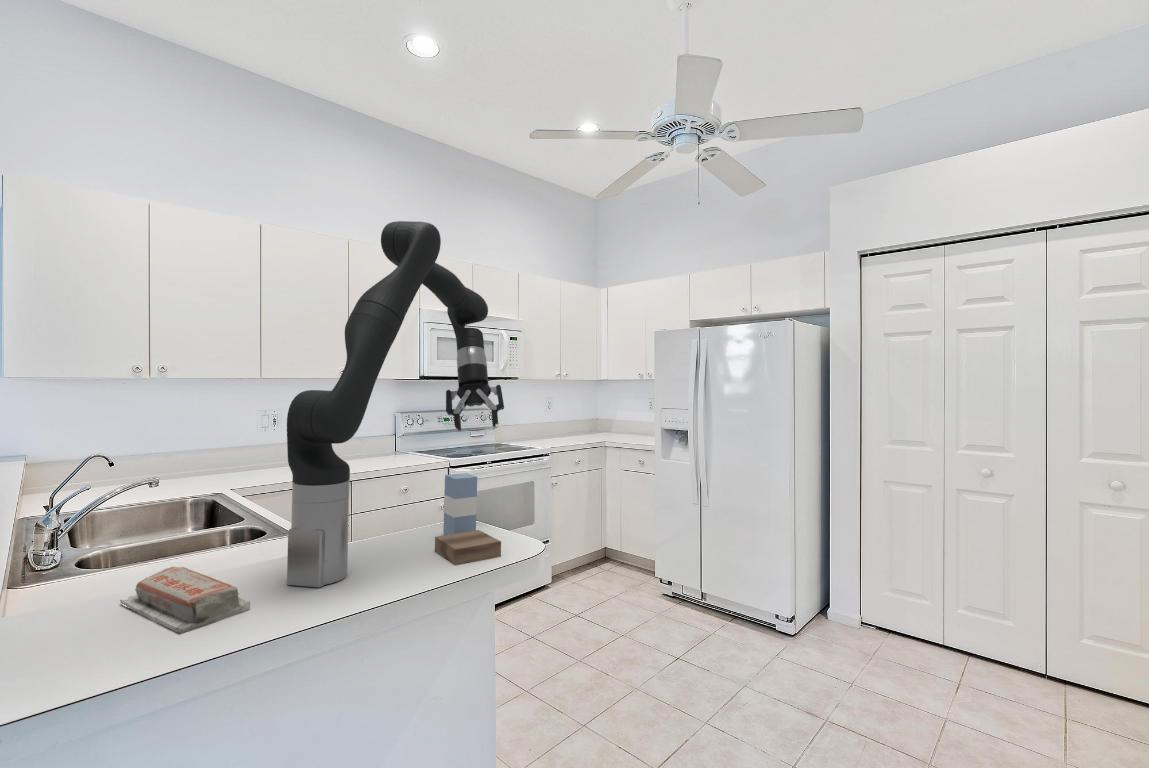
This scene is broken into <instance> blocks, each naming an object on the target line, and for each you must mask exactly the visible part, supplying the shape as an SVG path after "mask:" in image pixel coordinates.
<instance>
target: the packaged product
mask: <svg viewBox="0 0 1149 768" xmlns="http://www.w3.org/2000/svg"><path fill="white" fill-rule="evenodd" d="M134 591H135V592H136V594H135V595H131V596H128V598H127V599H120V600H119V601H120V604H121V603H122V604H124V605H126V606H127V607H129V608H130V610H131V611H134V612H135V611H137V612H138V613H137V612H136V613H137V614H139V613H140V614H139V615H141V614H142V615H144V616H146V617H147V618H146V617H145V618H146V619H148V618H149V619H148V620H150V621H151V620H152V621H151V622H153V621H154V623H155V622H156V624H158V623H159V624H158V625H161V624H162V626H163V627H165V628H168V629H169V630H172V631H173V632H176V633H178V634H180V635H181V634H185V633H188V632H190V631H194V630H196V629H199V628H202V627H206V626H208V625H210V624H213V623H216V622H219V621H222V620H225V619H227V618H231V617H233V616H236V615H239V614H241V613H245V612H248V611H250V609H251V607H250V606H251V601H249V600H248V601H247V600H246V599H245V598H242V597H239V592H238V588H237V586H234V585H231V584H230V583H228V582H227V583H226V582H223V581H221V580H218V579H215V578H213V577H211V576H207V575H205V574H203V573H200V572H197V571H194V570H192V569H189V568H187V567H183V566H171V567H166V568H164V569H162V570H161V571H158V572H157V573H154V574H152V575H151V576H150V575H149V576H148V577H145V578H143V579H142V580H140V581H139V582H138V583H137V584H136V585H135V590H134ZM129 608H128V609H129ZM142 615H141V616H142ZM144 616H143V617H144Z"/></svg>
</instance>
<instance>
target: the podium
mask: <svg viewBox="0 0 1149 768" xmlns="http://www.w3.org/2000/svg"><path fill="white" fill-rule="evenodd" d="M434 552H435V553H437V554H438V555H440V556H441V557H443V558H444V559H446V560H447V561H449V562H450V563H452V564H453V565H455V566H457V565H456V564H458V565H462V564H461V563H463V564H467V562H468V563H472V561H473V562H478V561H483V560H489V559H493V558H492V557H494V558H497V557H496V556H499V557H501V556H502V555H501V554H502V541H501V540H499V539H497V538H495V537H494V536H491V535H489V534H487V533H485V532H484V531H482V530H479V529H476V530H475V531H468V532H462V533H456V534H449V535H443V534H442V535H439V536H438V535H437V536H434ZM488 558H489V559H488Z"/></svg>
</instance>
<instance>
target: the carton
mask: <svg viewBox="0 0 1149 768" xmlns="http://www.w3.org/2000/svg"><path fill="white" fill-rule="evenodd" d="M443 494H444V495H443V532H442V533H443V534H442V536H443V535H449V534H456V533H462V532H468V531H475V530H477V515H478V514H477V513H478V512H477V511H478V476H476V475H473V474H470V473H468V472H465V473H464V472H463V473H455V474H445V475H444V493H443Z"/></svg>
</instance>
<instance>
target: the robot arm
mask: <svg viewBox="0 0 1149 768" xmlns="http://www.w3.org/2000/svg"><path fill="white" fill-rule="evenodd" d="M380 235H381V236H380V246H381V249H382V252H383V254H384V256H385V257H386V259H388V260H389V261H390V262H391V263H392V264H394V265H395V266H396V267H395V269H393V270H392V271H391V272H390V273H389V274H387V275H386V276H385V277H383V278H381V280H379V281H378V282H376V283H375V284H374V285H372V286H371V287H370V288H369V289H367V290H366V291H365V292H364V293H363V294H362V295H360V298H358V300H357V302H356V304H355V305H354V307H353V309H352V310H351V313H350V314H349V317H348V319H347V321H346V323H345V326H344V344H345V350H346V361H345V362H346V363H345V364H344V369H343V371H342V372H341V375H340V377H339V379H338V380H337V382H336V384H335V385H334V387H333V388H332V389H331V390H324V389H323V390H322V389H321V390H320V389H318V390H317V389H309V390H308V389H307V390H303V391H301V392H299V393H298V394H297V395H295V396H294V398H293V399H292V401H291V403H290V405H289V407H288V411H287V417H286V443H287V445H286V447H287V449H286V450H287V462H288V467H289V469H290V471H291V474H292V475H291V476H292V482H291V483H292V487H291V489H292V490H291V518H290V522H291V524H290V525H291V526H290V527H291V528H289V529H288V531H287V557H286V558H287V560H286V561H287V562H286V564H287V567H286V568H287V569H286V585H287V586H288V585H289V586H299V587H309V588H322V587H323V586H326V585H329V584H333V583H336V582H339V581H341V580H343V579H345V578H346V577H347V575H348V562H349V560H348V559H349V557H348V556H349V515H350V514H349V513H350V511H349V510H350V506H349V505H350V477H351V476H350V475H351V470H350V469H351V468H350V465H349V463H347V461H345V460H343V459H342V458H341V457H339V455H337V454H336V452H335V451H334V448H333V444H336V445H337V444H338V445H339V444H344V443H346V442H348V441H349V440H351V439H352V438H353V437H354V436H355V435H356V433H357V431H358V430H359V429H360V427H361V423H362V421H363V419H364V417H365V414H366V411H367V408H368V406H369V401H370V398H371V396H372V393H373V390H374V387H375V386H376V385H375V384H376V382H377V380H378V376H379V375H380V372H381V370H382V368H383V365H384V362H385V361H386V358H387V356H388V353H389V351H390V350H391V347H392V345H393V344H394V341H395V340H396V337H397V336H398V333H399V331H400V329H401V327H402V325H403V321H404V320H405V318H406V315H407V314H408V311H409V309H410V307H411V304H412V303H413V301H414V298H415V297H416V296H417V293H418V291H419V289H420V288H421V286H422V285H423V286H425V287H426V289H428V290H429V291H430V292H431V293H432V294H434V296H435V297H436V298H437V299H438V300H439V301H440V302H441V303H442V304H443V305H444V306H445V307H446V308H447V309H446V312H447V313H446V314H447V316H448V319H449V321H450V323H451V326H452V329H453V332H454V335H455V339H456V366H457V367H456V368H457V382H458V388H457V390H451V389H447V390H446V391H445V412H446V414H447V415H448V416H453V424H454V428H455V429H457V430H458V432H460V431H462V421H461V414H462V412H463V411H464V410H465V409H466V408H467V407H474V406H478V407H479V406H480V407H481V406H483V405H484V404H485V406H487V408H489V410H490V412H491V422H492V423H491V424H492V428H496V427H497V425H499V418H498V417H499V416H498V412H500V411H503V410H504V409H505V404H504V397H503V392H502V387H501V384H497V385H496V386H492V387H491V386H490V385H489V375H488V374H489V373H488V364H487V357H486V353H485V351H486V350H485V343H484V341H485V340H484V339H485V338H484V334H483V331H481V329H479V328H476V327H466V326H467V325H471V324H475V323H480V322H482V321H484V320H485V319H486V318H488V315H489V307H488V303H487V302H486V300H485V299H484V298H483V297H482V296H481V295H480V294H478V293H477V292H475V291H474V290H472V289H470V287H469V288H468V287H466V286H465V284H464V283H462V281H461V279H460V278H458V276H457V275H456V274H455V273H454V272H452V271H451V270H449V269H448V268H446V267H445V266H443V265H441V264H439V263H437V262H436V261H437V259H438V257H439V254H440V250H441V243H442V241H441V233H440V231H439V230H438V228H437V227H436V226H435V225H434V224H433V223H431V222H425V221H410V220H409V221H405V220H404V221H403V220H400V221H399V220H397V221H392V222H388V223H387V224H386V225H385V226H384V227H383V229H382V231H381V234H380ZM492 393H493V394H494V396H497V401H498V404H495V403H493V401H492V400H491V398H489V396H490V394H492ZM456 397H458V398H459V399H460V400H459V402H458V403H457V405H456V407H455V408H454V409H453V401H455V398H456Z"/></svg>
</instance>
